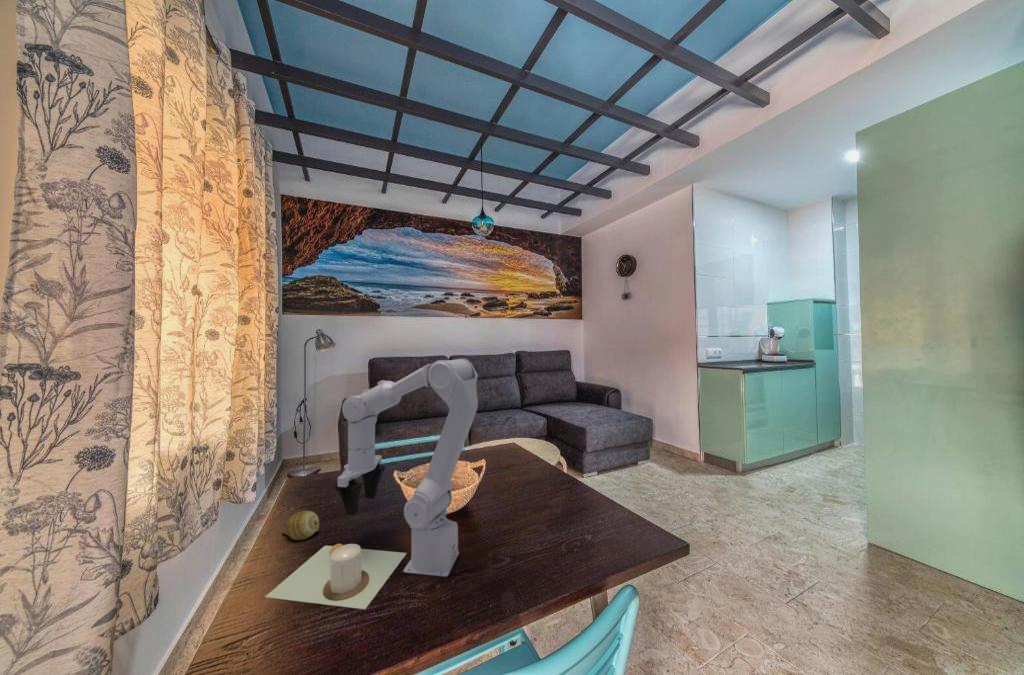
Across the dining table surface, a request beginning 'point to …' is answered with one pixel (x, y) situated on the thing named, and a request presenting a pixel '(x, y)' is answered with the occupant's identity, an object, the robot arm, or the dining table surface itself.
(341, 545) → the ball
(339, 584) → the cup
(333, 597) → the coaster
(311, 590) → the placemat
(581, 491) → the dining table surface
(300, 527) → the seashell
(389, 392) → the robot arm
